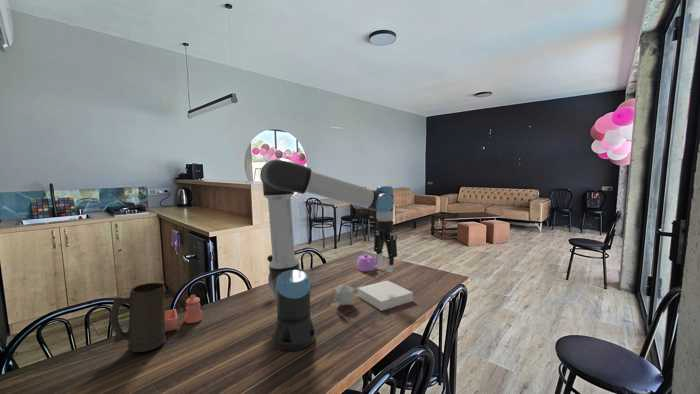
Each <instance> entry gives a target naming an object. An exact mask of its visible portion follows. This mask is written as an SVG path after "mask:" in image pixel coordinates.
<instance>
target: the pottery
mask: <svg viewBox="0 0 700 394" xmlns="http://www.w3.org/2000/svg"><path fill="white" fill-rule="evenodd" d="M200 301H201V299H200V297H197V296H196V294H191V295H190V297H189V298H187V299H186V300H185V303H186V305H185V310H186V312H185V313H184V315H183V320H184V323H186V324H195V323H198V322H199V321H201V320H202V318H203V315H204V314H203V311H202V309H201V303H200ZM165 329H166V332H165V333H167V332H170V331H171V332H172V331H175V330H178V329H179V318H178V313H177V309H176V308H174V309H170V310H169V309H168V310H165Z"/></svg>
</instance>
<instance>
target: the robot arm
mask: <svg viewBox="0 0 700 394" xmlns="http://www.w3.org/2000/svg"><path fill="white" fill-rule="evenodd" d="M259 175H260V176H259V177H260V181H261V183H262V192H263V197H265V198H266V199H267V204H268V206H267V207H268V215H269V216H268V217H269V230H270V231H269V232H270V243H271V255H272V259H273V260H272V261H271V263H270V262H269V264H268V271H269V273H268V286H269V287H270V290H272V293H273V295H274V296H275V299H276V308H277V310H276V312H277V313H276V314H277V318H276V319H277V320H276V323H275V326H274V329H273V333H272V344H273V345H274V346H275V347H276V348H277V349H279V350H282V351H299V350H303V349H305V348H307V347H309V346H311V345H312V344H313V343H314V342H315V340H316V337H317V335H316V328H315V325H314V322H313V320H312V317H311V280H310V279H311V278H310V277H309V275H308V273H306V272H305V271H304V272H303V270H302V271H299V269H300V261H299V259H297V258H296V257H295V256H296V255H295V243H294V231H293V228H294V227H293V211H292V197H293V196H294V195H295V193H297V194H301V195H304V194H306V193H309V194H313V195H316V196H320V197H323V198H327V199H331V200H335V201H339V202H342V203H346V204H349V205H351V206H352V207H353V208H354V209H356V210H357V209H358V210H361V209H363V210H364V209H366V210H370V211H375V212H376V229H378V230H375V231H374V232H373V234H374V240H373V243H374V245H373V251H374V252H376V256H377V264H376V265H377V269H380V268H381V269H382V268H383V267H384V257H383V256H384V252H383V249H384V248H383V247H384V244H385V247H386V251H387V259H386V262H387V263H386V264H387V266H386V268H387V271H386V272H387V273H392V272H394V265H395V262H394V260H395V258H397V257H398V249H397V248H398V247H397V239H398V238H397V237H398V236H397V234H393V232H392V231H393V229H394V221H393V219H394V203H395V202H394V196H395V195H394V188H393V186H392V185H390V186H389V185H378V186H377V187H376V189H375V190H372V189H370V188H367V187H364V186H360V185H357V184H353V183H350V182H347V181H344V180H340V179H337V178H334V177H331V176H328V175H325V174H321V173H318V172H315V171H313V170H312V168H311V167H308V166H306V165H303V164H300V163H298V162H294V161H292V160H291V159H287V158H282V157H281V158H275V159H271V160H269V161H267V162H265V164H264V165H263V166H262V168H261V170H260V173H259Z"/></svg>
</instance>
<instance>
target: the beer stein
mask: <svg viewBox="0 0 700 394" xmlns="http://www.w3.org/2000/svg"><path fill="white" fill-rule="evenodd" d="M165 294H166V286H165V284H164V283H162V282H149V283H143V284H138V285H137V286H134V287H132V288H131V290H130V293H129V297H121V296H116V297H114V298H113V304H112V306H111V309H110V311H109V316H108V318H109V319H108V320H109V323H110V325H111V328H112V329H113V331H114V333H115V336H114V338H113V342H114V344H117V343H118V342H121V341H127V342H128V343H127V350H128V351H130V352H134V353H139V352H140V353H141V352H147V351H151V350H155V349H157V348H158V347H161V346H162V345H164V343H165V342H166V340H167V339H166V338H167V337H166V333H167V332H166V329H165V311H166V310H165V308H166V307H165ZM123 305H128V306H129V313H128V316H129V317H128V318H129V319H128V329H127V330H128V331H127V332H124V331H123V329H122V327H121V324H120V322H119V310H120V307H121V306H123Z"/></svg>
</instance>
